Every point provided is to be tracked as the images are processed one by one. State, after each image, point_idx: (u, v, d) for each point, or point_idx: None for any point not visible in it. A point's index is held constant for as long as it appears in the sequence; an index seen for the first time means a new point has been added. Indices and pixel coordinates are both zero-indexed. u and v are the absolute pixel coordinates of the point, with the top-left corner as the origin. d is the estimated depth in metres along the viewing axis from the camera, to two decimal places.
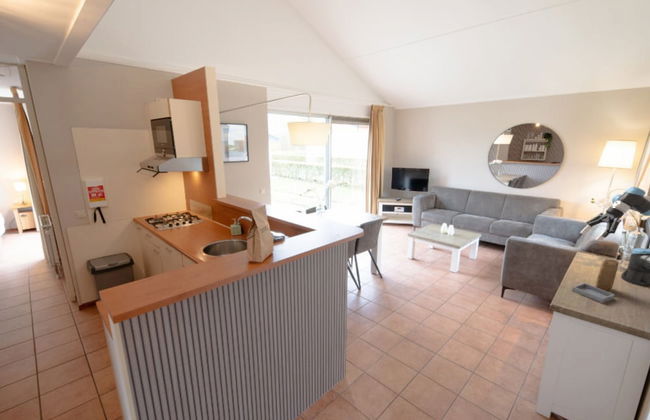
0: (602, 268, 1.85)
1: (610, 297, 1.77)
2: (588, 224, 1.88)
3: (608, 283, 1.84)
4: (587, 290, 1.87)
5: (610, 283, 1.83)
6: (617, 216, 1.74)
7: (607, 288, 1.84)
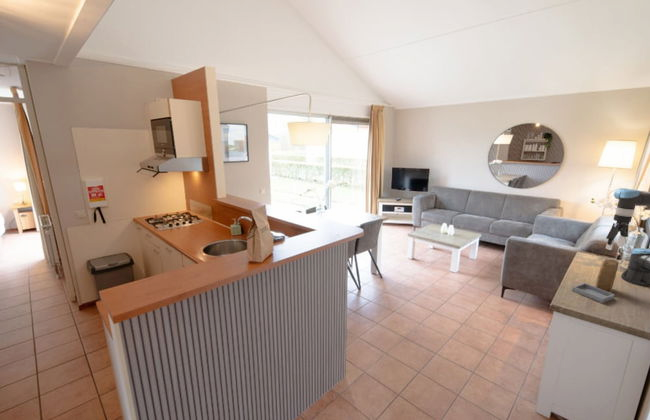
0: (602, 268, 1.85)
1: (610, 297, 1.77)
2: None
3: (608, 283, 1.84)
4: (587, 290, 1.87)
5: (610, 283, 1.83)
6: (618, 221, 1.76)
7: (607, 288, 1.84)
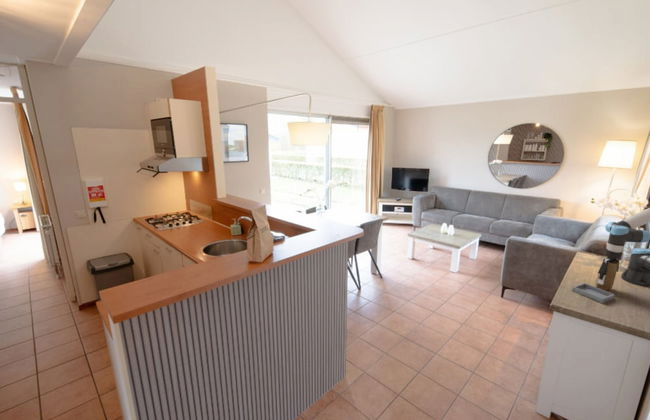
0: None
1: (610, 297, 1.77)
2: None
3: (608, 283, 1.84)
4: (587, 290, 1.87)
5: (610, 283, 1.83)
6: (609, 257, 1.82)
7: (607, 288, 1.84)
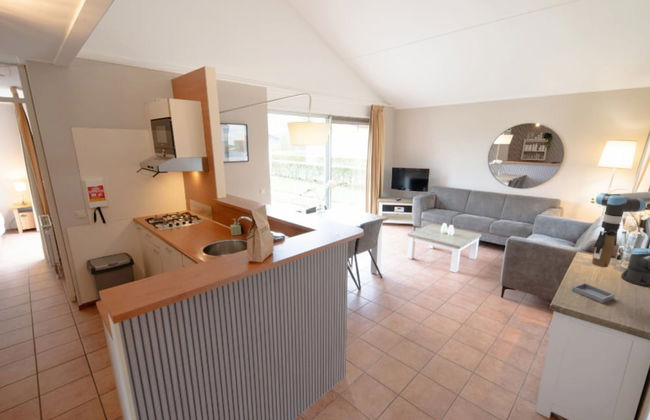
0: None
1: (610, 297, 1.77)
2: None
3: (605, 257, 1.72)
4: (587, 290, 1.87)
5: (607, 257, 1.71)
6: (606, 229, 1.70)
7: (604, 263, 1.72)
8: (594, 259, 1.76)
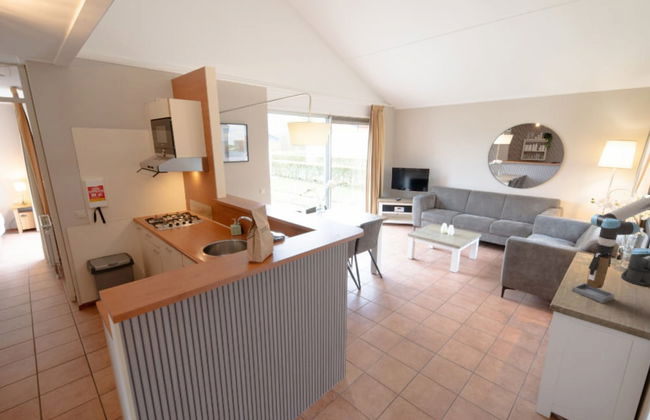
0: None
1: (610, 297, 1.77)
2: None
3: (599, 279, 1.75)
4: (587, 290, 1.87)
5: (601, 279, 1.74)
6: (600, 251, 1.74)
7: (598, 284, 1.76)
8: (588, 280, 1.79)
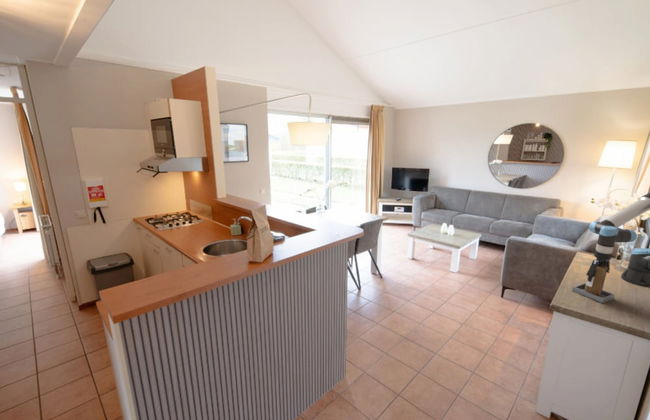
0: None
1: (610, 297, 1.77)
2: None
3: (596, 288, 1.77)
4: None
5: (599, 288, 1.76)
6: (598, 258, 1.75)
7: (596, 293, 1.78)
8: (586, 289, 1.81)
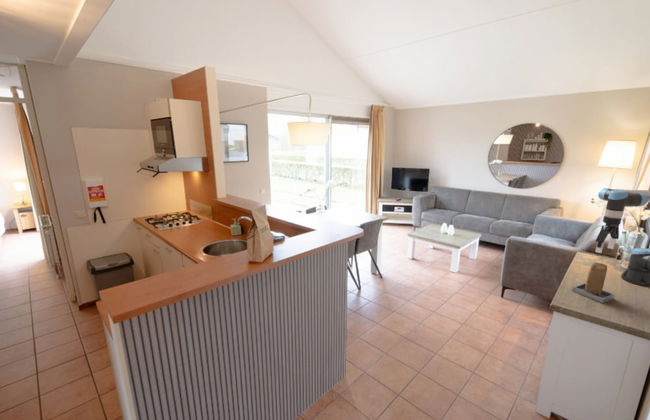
0: (590, 272, 1.78)
1: (610, 297, 1.77)
2: (611, 237, 1.79)
3: (596, 288, 1.77)
4: None
5: (599, 288, 1.76)
6: (608, 223, 1.71)
7: (596, 293, 1.78)
8: (586, 289, 1.81)
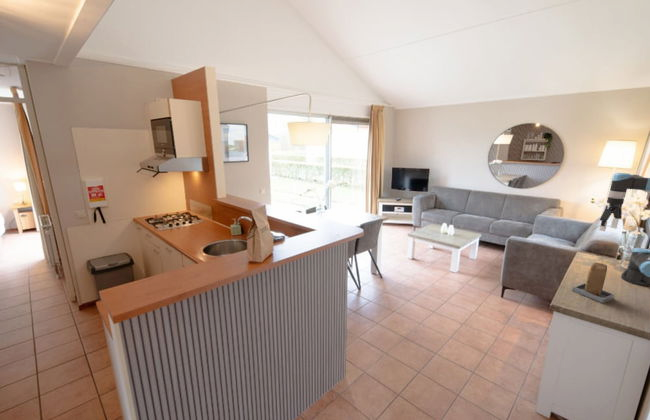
0: (590, 272, 1.78)
1: (610, 297, 1.77)
2: (614, 217, 1.94)
3: (596, 288, 1.77)
4: None
5: (599, 288, 1.76)
6: (611, 203, 1.86)
7: (596, 293, 1.78)
8: (586, 289, 1.81)
